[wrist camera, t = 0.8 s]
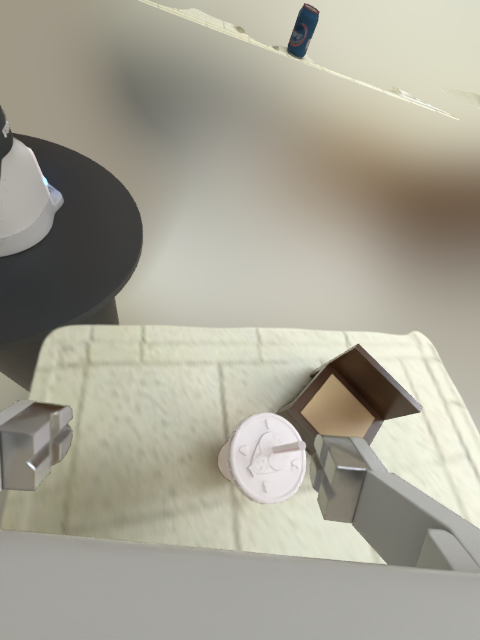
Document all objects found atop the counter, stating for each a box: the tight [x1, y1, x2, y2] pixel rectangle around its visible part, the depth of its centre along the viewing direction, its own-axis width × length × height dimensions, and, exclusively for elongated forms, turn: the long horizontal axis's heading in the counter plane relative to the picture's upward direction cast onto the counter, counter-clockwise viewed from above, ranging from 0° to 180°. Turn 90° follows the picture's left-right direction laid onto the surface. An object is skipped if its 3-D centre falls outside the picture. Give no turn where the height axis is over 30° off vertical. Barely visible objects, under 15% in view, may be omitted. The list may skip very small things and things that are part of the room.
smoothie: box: [218, 413, 306, 504], centre depth 23 cm, size 6×6×14 cm
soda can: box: [288, 3, 319, 59], centre depth 94 cm, size 7×7×12 cm
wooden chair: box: [276, 344, 422, 455], centre depth 30 cm, size 9×9×9 cm
